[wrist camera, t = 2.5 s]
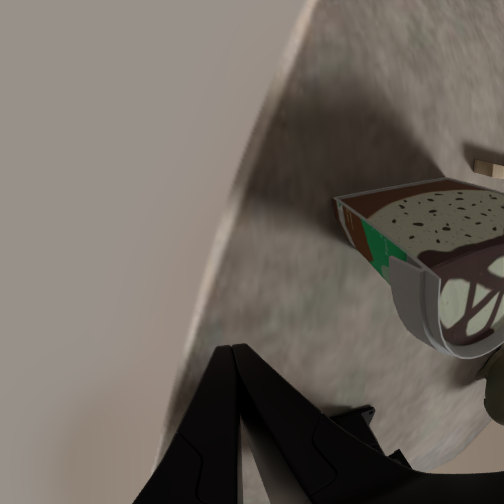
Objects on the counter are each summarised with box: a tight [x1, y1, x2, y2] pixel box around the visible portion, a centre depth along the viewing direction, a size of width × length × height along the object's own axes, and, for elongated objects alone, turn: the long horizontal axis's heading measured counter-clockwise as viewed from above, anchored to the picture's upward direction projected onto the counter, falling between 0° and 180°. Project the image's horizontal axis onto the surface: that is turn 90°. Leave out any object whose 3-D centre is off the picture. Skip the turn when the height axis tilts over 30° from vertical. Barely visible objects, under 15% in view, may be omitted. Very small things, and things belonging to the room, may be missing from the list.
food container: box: [332, 177, 504, 359], centre depth 14 cm, size 12×6×10 cm, turn 100°
